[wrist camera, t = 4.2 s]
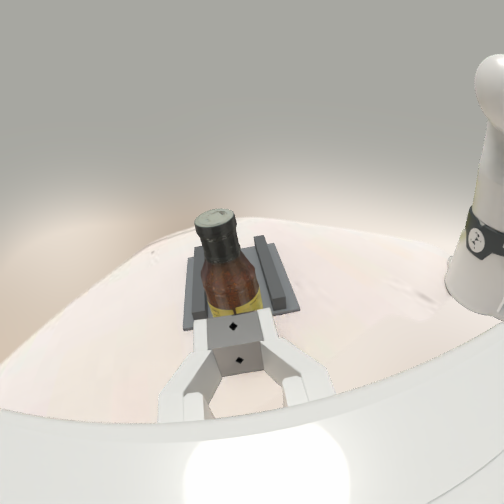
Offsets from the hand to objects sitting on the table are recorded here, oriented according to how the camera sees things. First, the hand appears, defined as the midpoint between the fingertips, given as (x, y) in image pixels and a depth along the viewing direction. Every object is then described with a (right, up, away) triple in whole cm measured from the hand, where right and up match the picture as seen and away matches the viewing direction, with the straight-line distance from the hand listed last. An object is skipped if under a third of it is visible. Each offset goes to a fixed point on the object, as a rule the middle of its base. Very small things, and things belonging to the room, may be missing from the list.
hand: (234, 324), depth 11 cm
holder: (-2, -2, +40) cm, 40 cm away
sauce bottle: (0, -10, +27) cm, 29 cm away
